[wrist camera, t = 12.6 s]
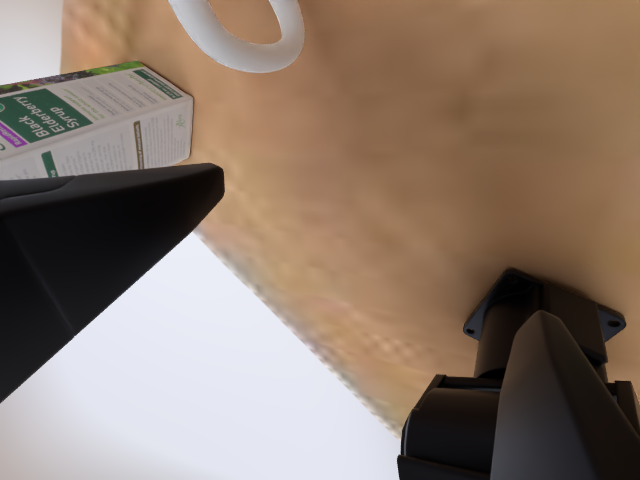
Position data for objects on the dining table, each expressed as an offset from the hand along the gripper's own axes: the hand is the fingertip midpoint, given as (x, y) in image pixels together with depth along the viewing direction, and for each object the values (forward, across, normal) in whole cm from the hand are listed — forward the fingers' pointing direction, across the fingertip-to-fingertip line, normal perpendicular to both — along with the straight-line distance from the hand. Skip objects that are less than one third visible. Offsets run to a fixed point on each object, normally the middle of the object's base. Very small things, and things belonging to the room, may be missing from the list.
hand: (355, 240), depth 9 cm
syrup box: (+12, +21, +6) cm, 25 cm away
